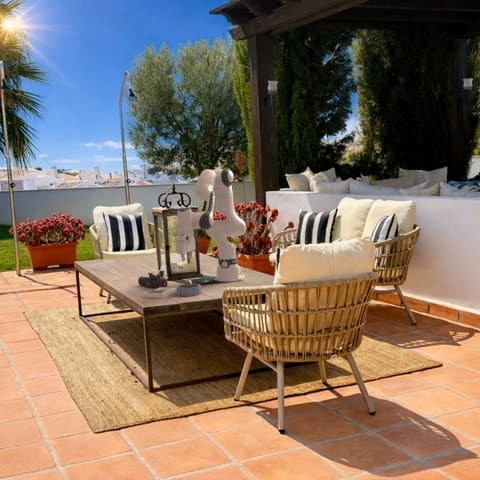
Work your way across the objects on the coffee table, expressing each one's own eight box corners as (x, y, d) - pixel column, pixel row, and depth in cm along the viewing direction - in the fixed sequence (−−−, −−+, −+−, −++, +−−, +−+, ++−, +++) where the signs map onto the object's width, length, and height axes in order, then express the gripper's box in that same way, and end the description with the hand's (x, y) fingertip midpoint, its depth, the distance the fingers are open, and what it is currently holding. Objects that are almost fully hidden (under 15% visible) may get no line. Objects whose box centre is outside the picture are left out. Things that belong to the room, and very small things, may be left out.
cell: (186, 291, 366) (186, 279, 365) (193, 291, 365) (192, 279, 364) (184, 292, 362) (183, 280, 361) (190, 293, 361) (189, 280, 360)
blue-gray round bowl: (182, 291, 372) (182, 283, 372) (204, 291, 368) (203, 283, 367) (172, 295, 359) (172, 288, 358) (195, 296, 355) (195, 288, 354)
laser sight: (147, 284, 401) (146, 269, 400) (171, 287, 386) (170, 271, 385) (135, 287, 394) (134, 271, 393) (159, 290, 379) (158, 274, 378)
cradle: (160, 290, 378) (159, 285, 377) (178, 290, 374) (178, 285, 374) (144, 297, 358) (144, 292, 358) (163, 297, 354) (163, 292, 354)
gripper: (187, 233, 370) (188, 257, 372) (173, 238, 351) (174, 262, 353) (197, 233, 368) (198, 257, 370) (184, 238, 349) (185, 262, 351)
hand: (187, 259), depth 361 cm, fingers open, 8 cm apart
